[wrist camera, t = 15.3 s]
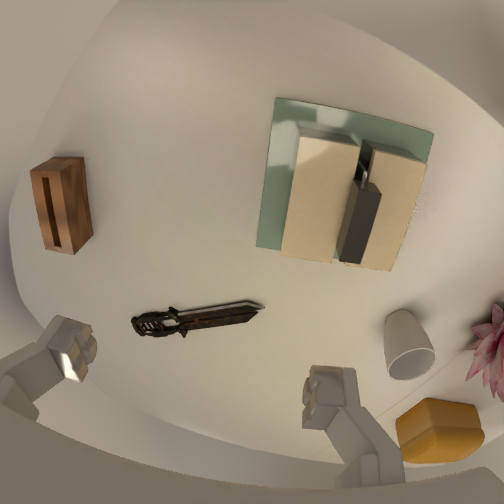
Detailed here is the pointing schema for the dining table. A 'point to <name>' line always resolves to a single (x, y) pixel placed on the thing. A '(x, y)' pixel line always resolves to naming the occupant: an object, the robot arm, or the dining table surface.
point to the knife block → (62, 203)
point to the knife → (194, 316)
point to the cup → (406, 347)
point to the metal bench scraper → (358, 218)
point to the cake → (337, 180)
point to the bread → (439, 432)
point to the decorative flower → (490, 352)
